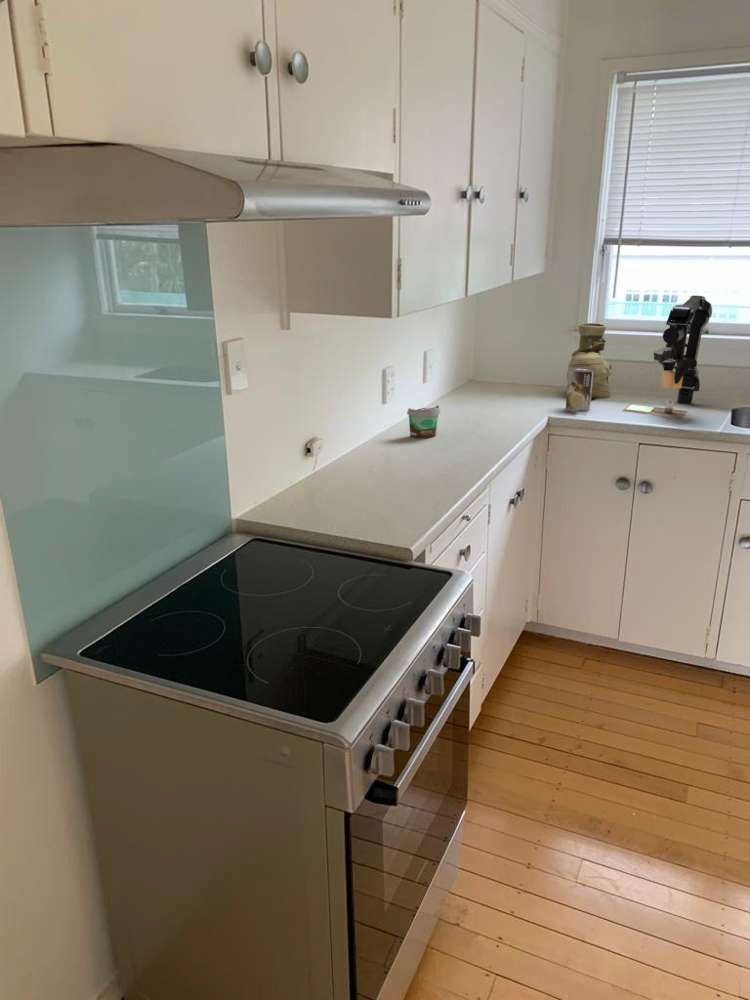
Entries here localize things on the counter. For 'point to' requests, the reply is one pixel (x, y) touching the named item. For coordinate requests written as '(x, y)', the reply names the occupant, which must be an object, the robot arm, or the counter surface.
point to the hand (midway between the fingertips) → (671, 382)
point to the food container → (423, 422)
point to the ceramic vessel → (593, 358)
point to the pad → (640, 408)
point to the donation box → (670, 380)
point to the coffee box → (579, 389)
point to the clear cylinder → (669, 407)
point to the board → (661, 412)
